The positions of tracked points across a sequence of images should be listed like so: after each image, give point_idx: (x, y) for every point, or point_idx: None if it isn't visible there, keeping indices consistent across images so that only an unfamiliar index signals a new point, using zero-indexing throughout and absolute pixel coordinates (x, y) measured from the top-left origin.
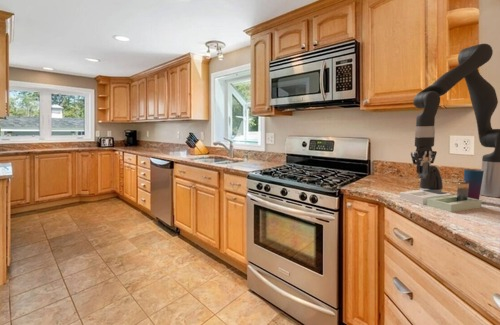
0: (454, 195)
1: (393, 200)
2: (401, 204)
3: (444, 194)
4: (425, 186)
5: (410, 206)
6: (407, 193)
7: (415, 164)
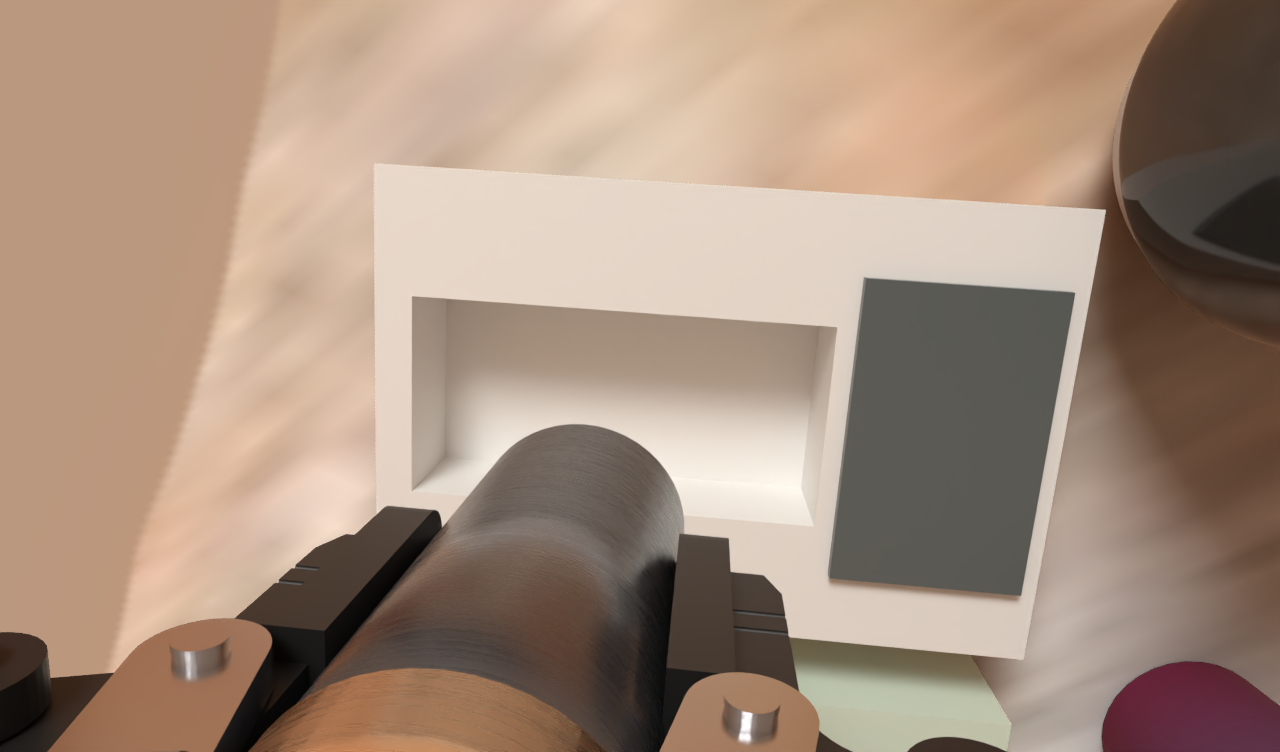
0: (954, 723)
1: (287, 168)
2: (220, 377)
3: (893, 617)
4: (1143, 158)
5: (251, 493)
6: (410, 295)
7: (53, 687)
